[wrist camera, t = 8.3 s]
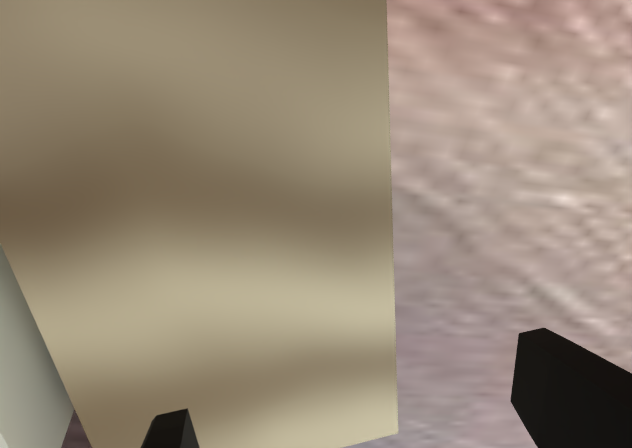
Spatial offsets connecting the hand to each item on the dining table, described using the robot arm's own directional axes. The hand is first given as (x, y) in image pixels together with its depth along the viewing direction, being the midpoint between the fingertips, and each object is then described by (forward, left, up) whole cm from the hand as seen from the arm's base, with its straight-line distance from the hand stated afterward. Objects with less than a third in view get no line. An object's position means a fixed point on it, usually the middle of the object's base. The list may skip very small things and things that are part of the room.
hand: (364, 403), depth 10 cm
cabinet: (+3, +5, -10) cm, 12 cm away
